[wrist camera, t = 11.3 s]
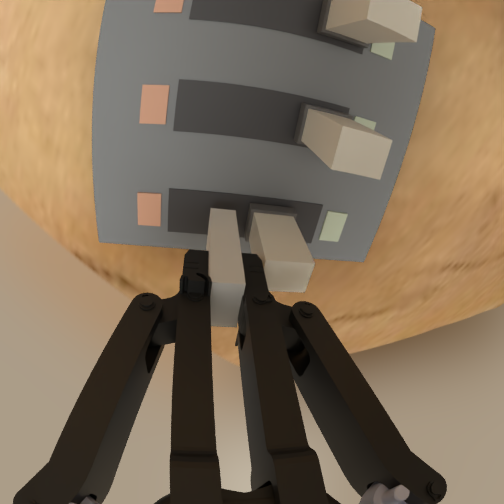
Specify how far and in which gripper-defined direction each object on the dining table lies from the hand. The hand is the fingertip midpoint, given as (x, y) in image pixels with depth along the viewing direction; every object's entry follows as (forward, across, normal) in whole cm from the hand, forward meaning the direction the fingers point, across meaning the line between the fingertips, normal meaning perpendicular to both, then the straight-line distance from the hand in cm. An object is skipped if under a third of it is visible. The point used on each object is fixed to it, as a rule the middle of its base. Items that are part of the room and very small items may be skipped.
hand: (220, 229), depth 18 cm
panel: (+3, +2, +7) cm, 8 cm away
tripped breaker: (+2, +3, 0) cm, 4 cm away
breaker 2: (+2, +5, +7) cm, 9 cm away
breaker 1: (+2, +5, +14) cm, 15 cm away
